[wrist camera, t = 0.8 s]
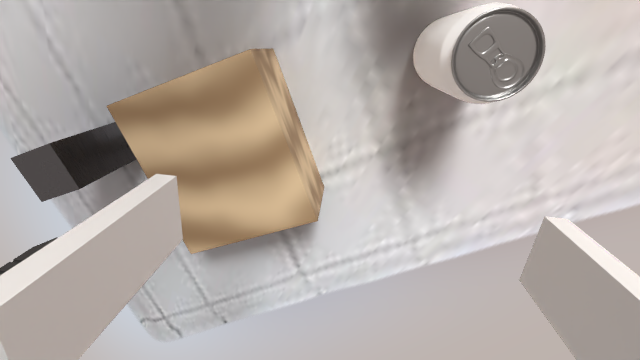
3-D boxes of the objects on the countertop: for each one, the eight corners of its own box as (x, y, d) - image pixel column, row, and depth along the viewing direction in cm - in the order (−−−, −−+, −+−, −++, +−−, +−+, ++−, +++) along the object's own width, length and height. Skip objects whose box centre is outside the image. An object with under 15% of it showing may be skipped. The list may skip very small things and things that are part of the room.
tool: (93, 130, 38) (10, 158, 29) (249, 71, 34) (211, 81, 24) (113, 165, 39) (41, 201, 30) (265, 112, 35) (235, 136, 26)
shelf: (157, 93, 35) (106, 105, 28) (273, 48, 33) (250, 49, 25) (219, 216, 41) (190, 253, 33) (324, 187, 38) (317, 221, 31)
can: (440, 101, 33) (484, 128, 22) (398, 54, 32) (423, 57, 21) (495, 52, 31) (574, 55, 20) (452, -1, 30) (512, -29, 19)
